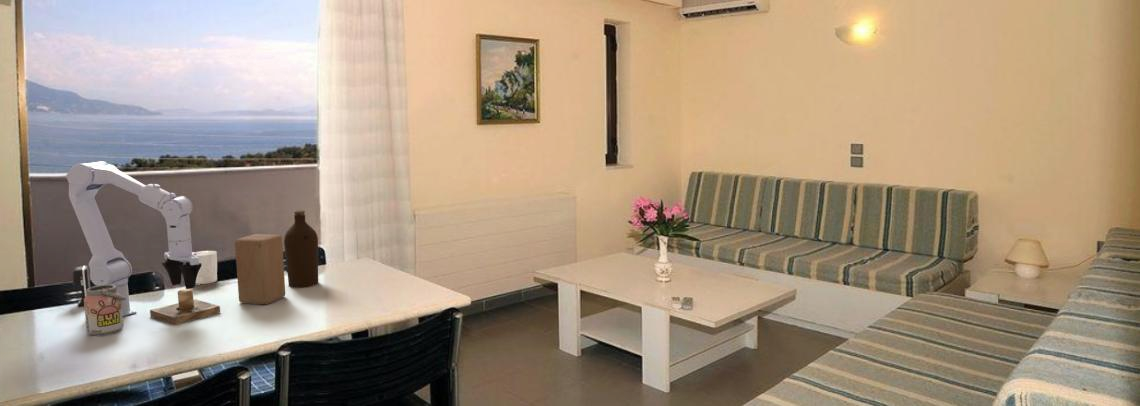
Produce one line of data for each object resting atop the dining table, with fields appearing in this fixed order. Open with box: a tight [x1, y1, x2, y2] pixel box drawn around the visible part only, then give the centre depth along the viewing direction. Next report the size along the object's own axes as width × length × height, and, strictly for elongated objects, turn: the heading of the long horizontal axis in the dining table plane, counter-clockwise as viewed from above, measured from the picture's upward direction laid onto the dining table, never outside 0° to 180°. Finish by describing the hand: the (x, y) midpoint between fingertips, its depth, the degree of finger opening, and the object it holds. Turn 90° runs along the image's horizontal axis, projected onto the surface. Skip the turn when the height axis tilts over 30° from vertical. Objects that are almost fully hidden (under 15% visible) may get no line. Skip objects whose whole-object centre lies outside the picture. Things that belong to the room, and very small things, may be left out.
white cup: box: [195, 250, 218, 285], centre depth 234 cm, size 8×8×10 cm
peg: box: [177, 288, 194, 310], centre depth 197 cm, size 4×4×7 cm
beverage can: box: [84, 285, 126, 337], centre depth 183 cm, size 9×8×12 cm
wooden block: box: [234, 233, 286, 305], centre depth 211 cm, size 10×10×20 cm
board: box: [149, 298, 221, 325], centre depth 198 cm, size 13×13×2 cm
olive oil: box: [283, 209, 319, 288], centre depth 230 cm, size 11×11×25 cm
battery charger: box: [72, 265, 91, 307], centre depth 208 cm, size 7×4×11 cm, turn 32°
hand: (183, 286), depth 196 cm, fingers open, 7 cm apart
